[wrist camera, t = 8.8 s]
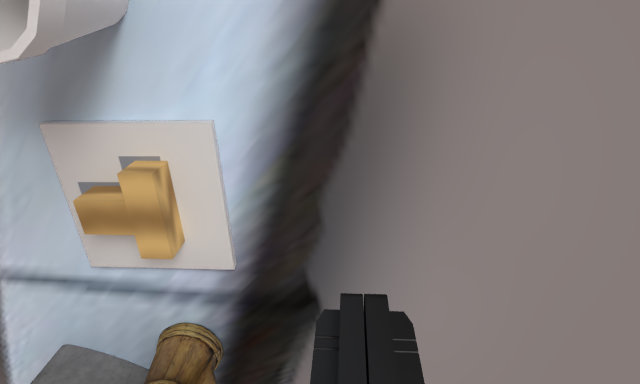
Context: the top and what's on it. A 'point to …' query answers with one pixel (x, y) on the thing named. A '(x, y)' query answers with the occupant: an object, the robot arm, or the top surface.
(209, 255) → the t board
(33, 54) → the foam cup
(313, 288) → the top surface
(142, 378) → the hip flask
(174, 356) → the wooden mug
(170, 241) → the t block
